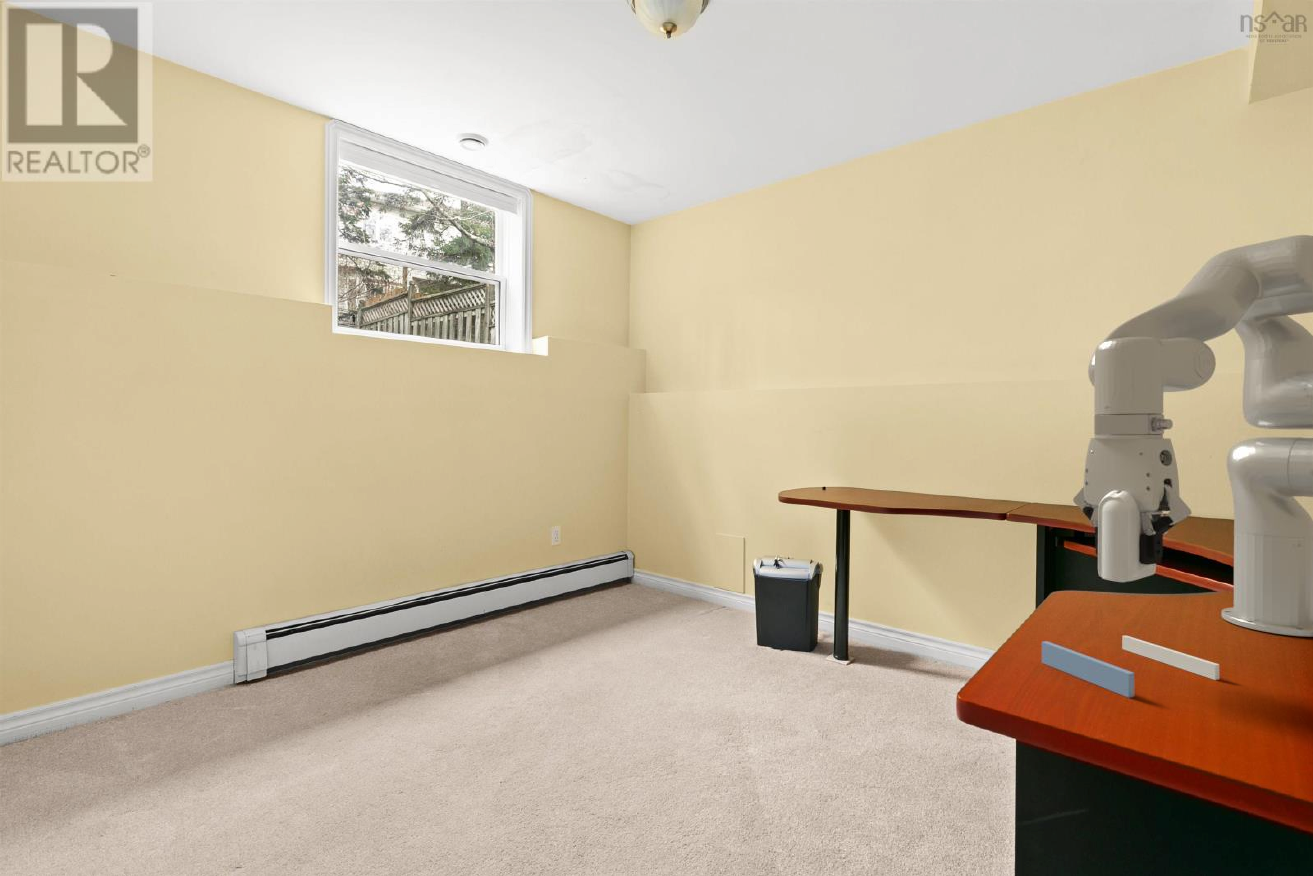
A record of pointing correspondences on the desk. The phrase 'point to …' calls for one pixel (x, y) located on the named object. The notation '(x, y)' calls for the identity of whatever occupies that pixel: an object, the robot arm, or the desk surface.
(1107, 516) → the photo printer
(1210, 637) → the desk surface
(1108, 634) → the desk surface
